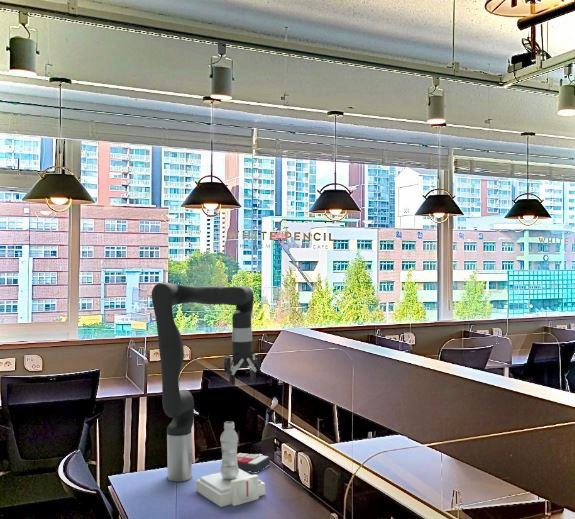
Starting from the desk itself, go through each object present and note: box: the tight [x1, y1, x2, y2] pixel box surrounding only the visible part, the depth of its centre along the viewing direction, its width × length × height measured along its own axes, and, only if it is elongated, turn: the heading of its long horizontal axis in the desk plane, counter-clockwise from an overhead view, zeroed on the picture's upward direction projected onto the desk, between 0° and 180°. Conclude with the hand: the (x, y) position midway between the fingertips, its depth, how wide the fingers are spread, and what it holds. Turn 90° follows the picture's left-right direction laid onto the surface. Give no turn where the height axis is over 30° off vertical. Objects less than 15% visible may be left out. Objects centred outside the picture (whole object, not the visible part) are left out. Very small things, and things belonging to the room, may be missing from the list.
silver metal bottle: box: [219, 421, 239, 480], centre depth 214 cm, size 6×7×20 cm
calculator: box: [237, 452, 271, 472], centre depth 241 cm, size 11×4×15 cm
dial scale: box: [195, 469, 266, 507], centre depth 212 cm, size 21×18×8 cm
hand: (242, 383), depth 222 cm, fingers open, 8 cm apart
